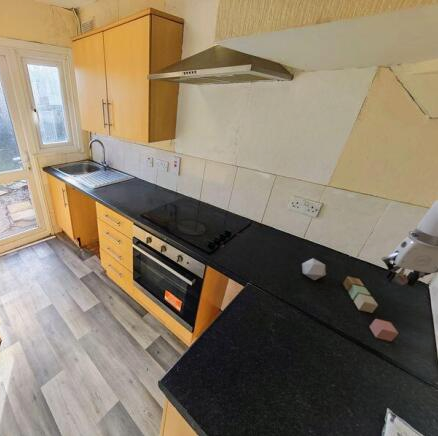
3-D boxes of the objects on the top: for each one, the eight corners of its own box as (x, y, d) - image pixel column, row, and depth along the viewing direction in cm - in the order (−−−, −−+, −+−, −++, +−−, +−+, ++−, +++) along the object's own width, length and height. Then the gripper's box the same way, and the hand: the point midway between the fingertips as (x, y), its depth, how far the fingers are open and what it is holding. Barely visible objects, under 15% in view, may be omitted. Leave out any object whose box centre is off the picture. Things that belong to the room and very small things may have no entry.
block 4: (383, 330, 81) (390, 322, 79) (391, 341, 77) (398, 333, 75) (369, 326, 82) (375, 318, 80) (375, 337, 78) (382, 329, 76)
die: (325, 280, 104) (323, 258, 105) (327, 282, 96) (325, 258, 98) (303, 278, 109) (301, 257, 110) (303, 280, 101) (301, 257, 103)
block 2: (360, 295, 96) (365, 287, 94) (365, 302, 92) (370, 294, 90) (347, 292, 97) (352, 284, 95) (352, 299, 93) (357, 291, 91)
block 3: (366, 304, 91) (372, 296, 89) (372, 313, 88) (378, 305, 85) (353, 301, 92) (358, 293, 90) (358, 309, 89) (364, 301, 87)
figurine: (399, 279, 81) (409, 266, 78) (409, 288, 77) (420, 275, 74) (383, 277, 82) (392, 263, 79) (391, 285, 78) (401, 272, 75)
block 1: (354, 286, 100) (359, 278, 98) (358, 293, 97) (364, 285, 95) (342, 283, 101) (347, 276, 99) (346, 290, 98) (351, 282, 96)
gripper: (403, 237, 69) (373, 281, 78) (477, 250, 65) (436, 295, 73) (389, 226, 76) (362, 268, 84) (455, 237, 71) (420, 280, 80)
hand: (397, 280), depth 79 cm, fingers closed on figurine, 5 cm apart
